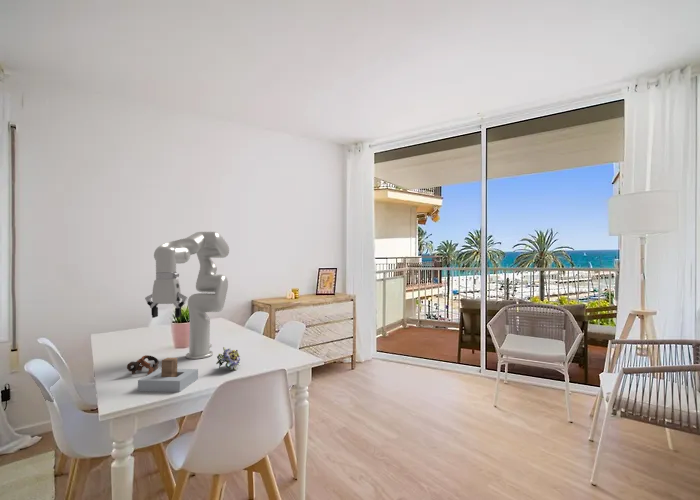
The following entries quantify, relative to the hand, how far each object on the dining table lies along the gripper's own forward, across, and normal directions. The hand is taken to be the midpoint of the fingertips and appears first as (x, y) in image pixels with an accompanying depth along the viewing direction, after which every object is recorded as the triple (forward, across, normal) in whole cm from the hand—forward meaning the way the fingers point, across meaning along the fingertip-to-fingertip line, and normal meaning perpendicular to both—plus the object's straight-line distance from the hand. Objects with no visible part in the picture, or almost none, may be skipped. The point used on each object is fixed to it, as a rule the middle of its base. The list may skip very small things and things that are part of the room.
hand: (166, 317), depth 146 cm
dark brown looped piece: (+25, +12, -3) cm, 28 cm away
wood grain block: (+24, -7, +10) cm, 27 cm away
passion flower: (+25, -22, -9) cm, 35 cm away
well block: (+24, -7, +10) cm, 27 cm away
